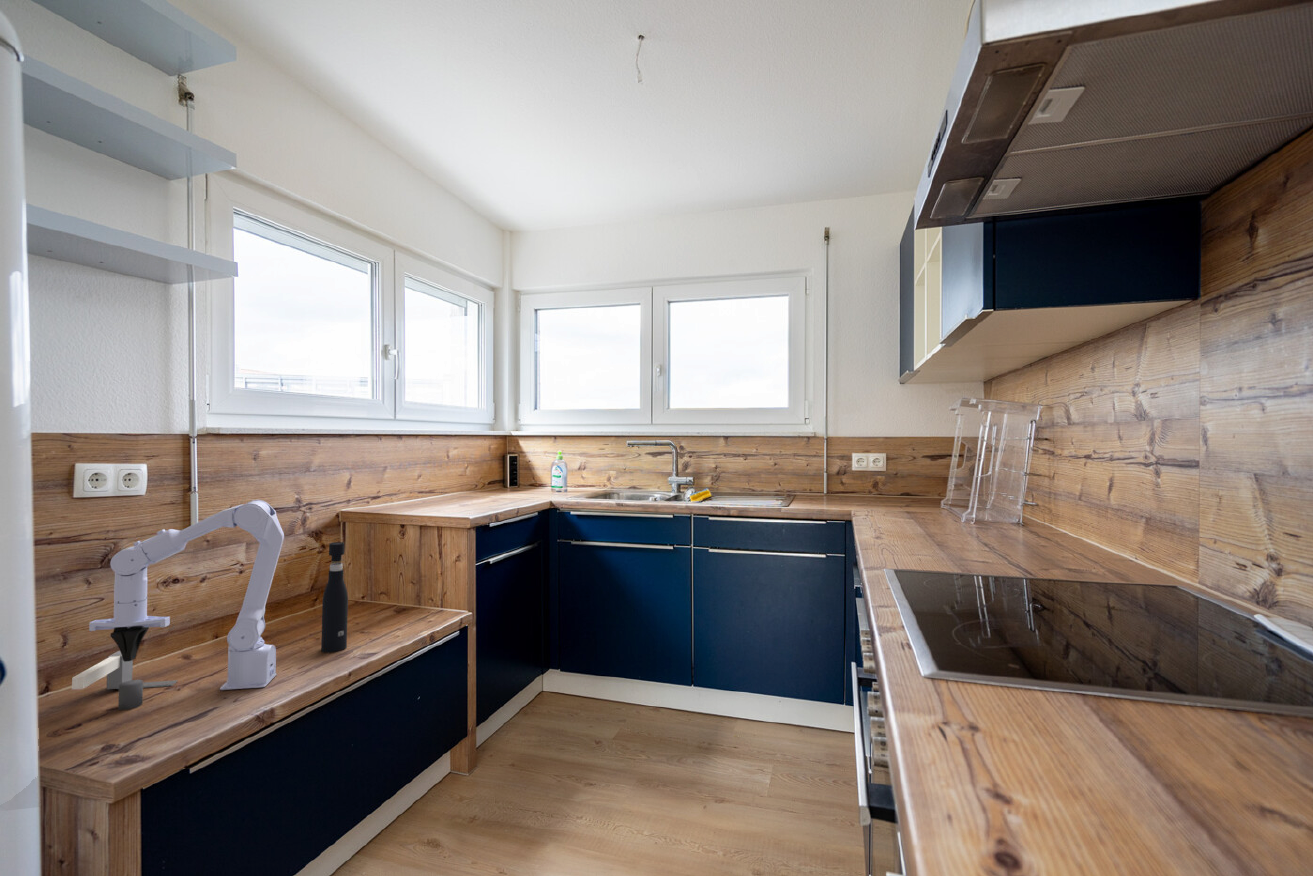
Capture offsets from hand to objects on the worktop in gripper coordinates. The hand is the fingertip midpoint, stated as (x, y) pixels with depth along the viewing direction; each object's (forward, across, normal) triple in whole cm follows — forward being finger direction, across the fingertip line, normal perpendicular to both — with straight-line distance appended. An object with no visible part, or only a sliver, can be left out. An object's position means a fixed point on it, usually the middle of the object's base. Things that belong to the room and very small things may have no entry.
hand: (129, 659), depth 136 cm
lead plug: (+9, -3, +5) cm, 10 cm away
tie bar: (+8, +5, -1) cm, 10 cm away
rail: (+8, 0, -6) cm, 11 cm away
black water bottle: (+9, -36, -26) cm, 45 cm away
